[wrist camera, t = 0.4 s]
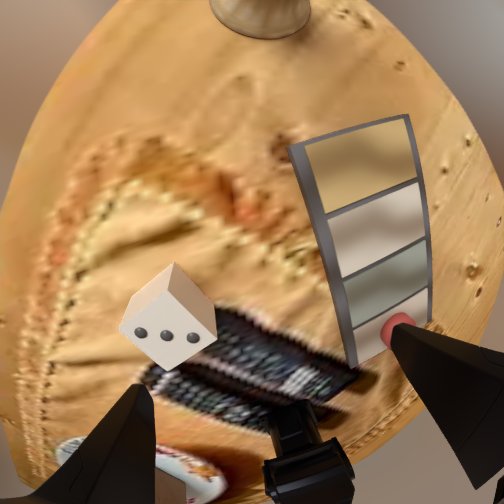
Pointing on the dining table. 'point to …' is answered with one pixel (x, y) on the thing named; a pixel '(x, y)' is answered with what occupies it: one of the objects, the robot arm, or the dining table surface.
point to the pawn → (389, 325)
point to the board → (369, 227)
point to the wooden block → (168, 489)
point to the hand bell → (262, 16)
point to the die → (170, 318)
